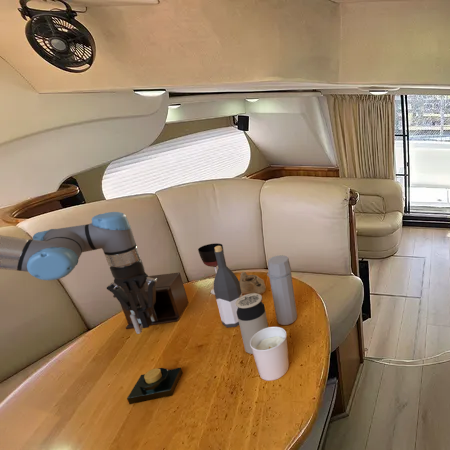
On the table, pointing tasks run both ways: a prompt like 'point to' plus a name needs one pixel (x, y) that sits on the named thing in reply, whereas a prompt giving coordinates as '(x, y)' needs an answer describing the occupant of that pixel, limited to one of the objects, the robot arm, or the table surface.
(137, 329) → the glass door
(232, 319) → the wine bottle
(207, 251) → the wineglass
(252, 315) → the travel mug
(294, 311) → the water bottle
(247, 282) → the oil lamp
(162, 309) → the cabinet
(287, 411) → the table surface
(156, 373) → the button
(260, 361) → the candle holder
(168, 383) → the button block
